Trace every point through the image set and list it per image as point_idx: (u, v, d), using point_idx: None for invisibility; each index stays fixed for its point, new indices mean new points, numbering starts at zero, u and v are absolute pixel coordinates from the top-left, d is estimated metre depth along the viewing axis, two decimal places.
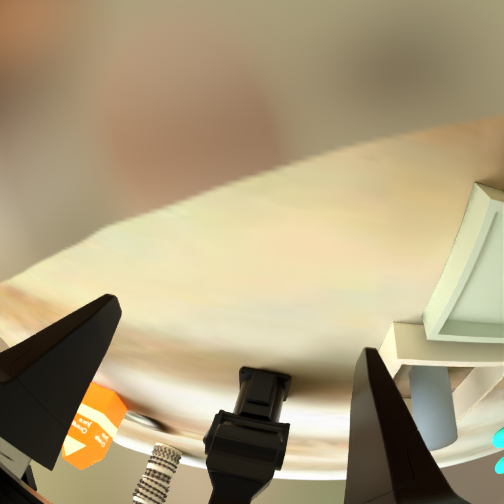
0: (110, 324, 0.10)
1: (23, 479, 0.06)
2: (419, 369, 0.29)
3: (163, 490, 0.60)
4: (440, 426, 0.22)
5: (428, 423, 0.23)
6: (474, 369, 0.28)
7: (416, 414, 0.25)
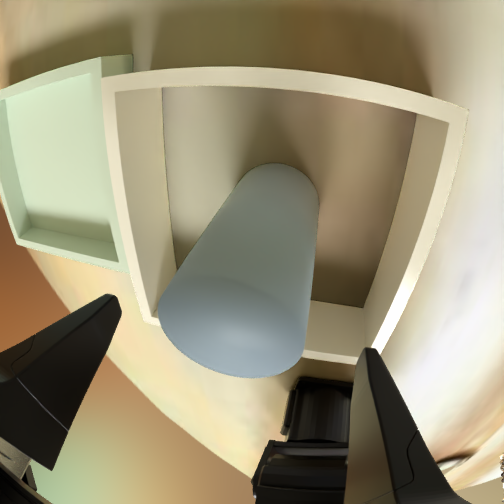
0: (110, 324, 0.10)
1: (23, 479, 0.06)
2: None
3: None
4: None
5: None
6: None
7: None
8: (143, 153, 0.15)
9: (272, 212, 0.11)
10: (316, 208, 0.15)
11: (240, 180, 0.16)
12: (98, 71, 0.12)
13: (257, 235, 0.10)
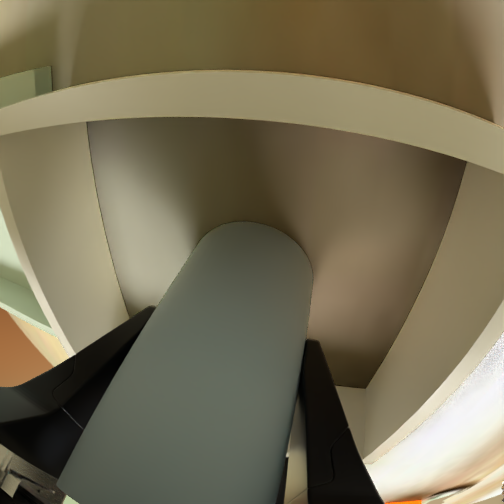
0: None
1: None
2: None
3: None
4: None
5: None
6: None
7: None
8: (59, 212, 0.10)
9: (219, 359, 0.06)
10: (307, 298, 0.10)
11: (195, 248, 0.11)
12: None
13: (182, 429, 0.05)
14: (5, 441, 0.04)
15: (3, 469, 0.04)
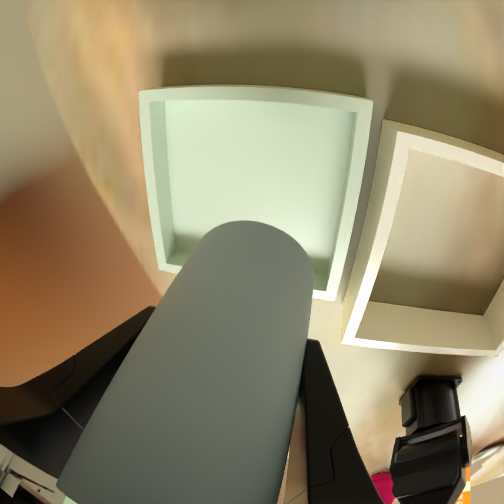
0: None
1: None
2: None
3: None
4: None
5: None
6: None
7: None
8: None
9: (220, 359, 0.06)
10: (308, 298, 0.10)
11: (195, 247, 0.11)
12: (367, 114, 0.14)
13: (182, 429, 0.05)
14: (5, 441, 0.04)
15: (3, 469, 0.04)
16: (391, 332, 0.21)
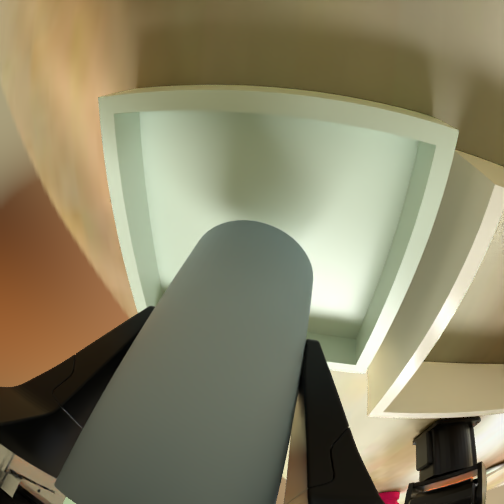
0: None
1: None
2: None
3: None
4: None
5: None
6: None
7: None
8: None
9: (218, 358, 0.06)
10: (307, 297, 0.10)
11: (194, 247, 0.11)
12: (449, 149, 0.09)
13: (180, 429, 0.05)
14: (5, 441, 0.04)
15: (3, 469, 0.04)
16: (423, 399, 0.16)
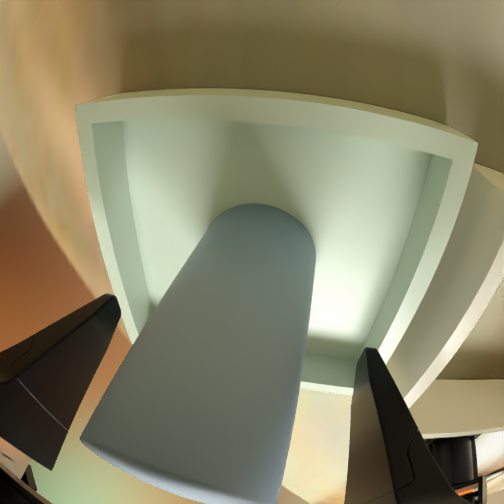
0: (110, 324, 0.10)
1: (23, 479, 0.06)
2: None
3: None
4: None
5: None
6: None
7: None
8: None
9: (237, 311, 0.07)
10: (311, 271, 0.11)
11: (209, 228, 0.12)
12: (466, 164, 0.07)
13: (207, 368, 0.06)
14: None
15: None
16: (425, 419, 0.15)
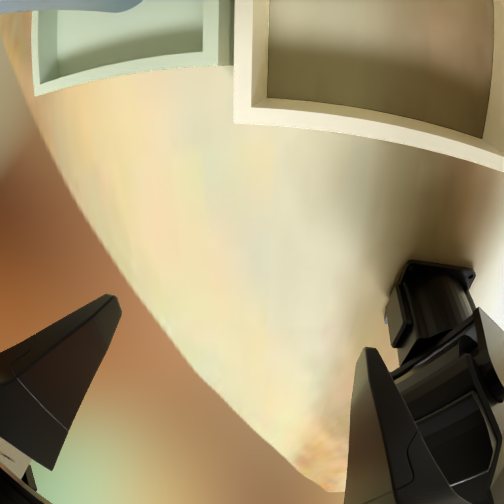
0: (110, 324, 0.10)
1: (23, 479, 0.06)
2: None
3: None
4: None
5: None
6: None
7: (46, 9, 0.08)
8: None
9: None
10: None
11: None
12: None
13: None
14: None
15: None
16: (322, 110, 0.13)
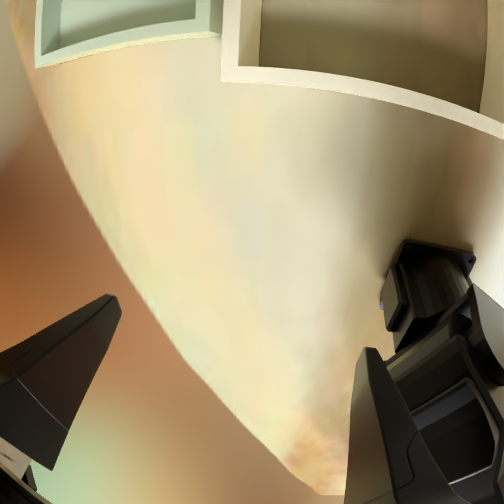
0: (110, 324, 0.10)
1: (23, 479, 0.06)
2: None
3: None
4: None
5: None
6: None
7: None
8: None
9: None
10: None
11: None
12: None
13: None
14: None
15: None
16: None
